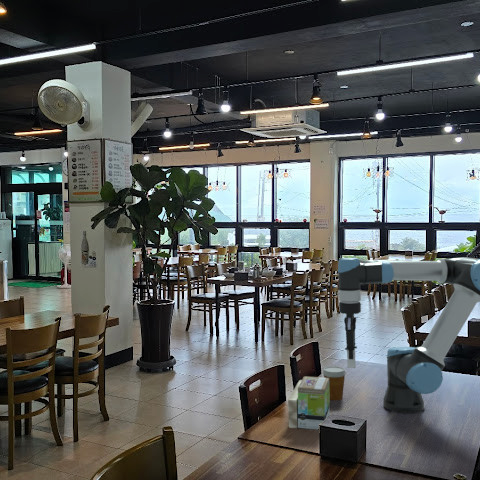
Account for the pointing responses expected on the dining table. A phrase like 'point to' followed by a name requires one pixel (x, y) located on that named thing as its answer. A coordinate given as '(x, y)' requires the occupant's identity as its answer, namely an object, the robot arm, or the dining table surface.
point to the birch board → (293, 407)
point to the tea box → (313, 402)
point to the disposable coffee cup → (335, 381)
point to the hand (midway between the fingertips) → (351, 367)
